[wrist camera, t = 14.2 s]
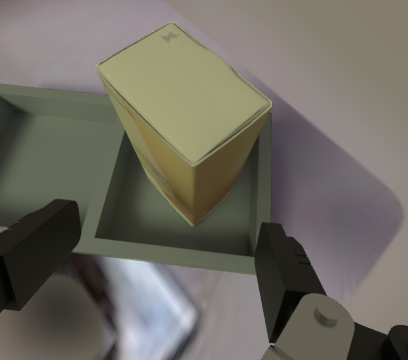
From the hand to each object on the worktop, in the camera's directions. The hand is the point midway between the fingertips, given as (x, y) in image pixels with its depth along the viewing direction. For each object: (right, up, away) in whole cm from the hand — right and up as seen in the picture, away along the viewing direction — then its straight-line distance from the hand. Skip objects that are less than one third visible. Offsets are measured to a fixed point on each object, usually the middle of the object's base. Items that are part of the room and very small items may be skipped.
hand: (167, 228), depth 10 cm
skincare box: (0, +1, +10) cm, 10 cm away
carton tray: (-6, +2, +11) cm, 13 cm away
